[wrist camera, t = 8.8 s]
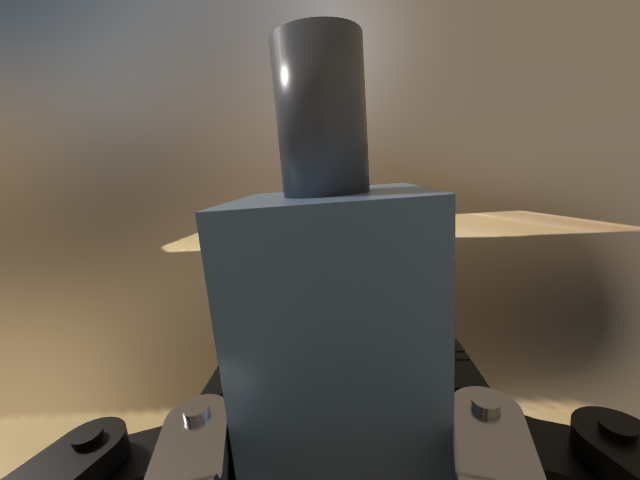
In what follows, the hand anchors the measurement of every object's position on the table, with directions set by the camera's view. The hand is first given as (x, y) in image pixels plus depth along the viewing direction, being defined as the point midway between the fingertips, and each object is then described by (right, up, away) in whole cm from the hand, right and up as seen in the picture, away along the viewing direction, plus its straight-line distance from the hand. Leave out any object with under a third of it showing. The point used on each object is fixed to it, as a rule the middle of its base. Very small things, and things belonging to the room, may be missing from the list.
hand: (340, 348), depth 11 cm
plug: (0, -8, -1) cm, 8 cm away
